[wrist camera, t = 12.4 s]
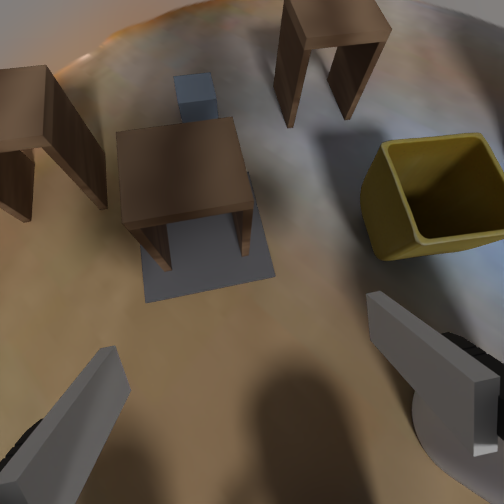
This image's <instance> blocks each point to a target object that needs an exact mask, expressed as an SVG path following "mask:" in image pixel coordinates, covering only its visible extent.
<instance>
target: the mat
mask: <svg viewBox="0 0 504 504" xmlns="http://www.w3.org/2000/svg"><path fill="white" fill-rule="evenodd" d="M247 175H248V179H249V183H250V187H251V191H252V194H253V198H254V207H253V217H252V228H251V238H250V249H249V256H244V257H242V256H241V251H240V247H239V242H238V238H237V233H236V229H235V224H234V220H233V215H232V212H231V213H225V214H220V215H214V216H208V217H203V218H197V219H191V220H185V221H180V222H174V223H168V224H166V225H167V233H168V241H169V248H170V256H171V264H172V271H167V272H164V270H163V269H162V268H161V267H160V266H159V265H158V264H157V262H156V261H155V260H154V259H153V258H152V257H151V256H150V254H149V253H148V252H147V251H146V250H145V249H144V248H143V246H142V245H141V244H140V248H141V259H142V271H143V282H144V293H145V303H150V302H155V301H160V300H165V299H170V298H175V297H180V296H184V295H189V294H194V293H199V292H204V291H209V290H214V289H218V288H223V287H228V286H233V285H238V284H243V283H248V282H252V281H257V280H262V279H267V278H272V277H275V272H274V268H273V264H272V260H271V257H270V253H269V249H268V245H267V241H266V237H265V234H264V230H263V226H262V222H261V218H260V214H259V210H258V207H257V203H256V199H255V195H254V191H253V187H252V184H251V180H250V176H249V172H247Z"/></svg>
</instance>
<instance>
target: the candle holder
mask: <svg viewBox="0 0 504 504" xmlns="http://www.w3.org/2000/svg"><path fill="white" fill-rule="evenodd" d="M503 364H504V363H503ZM412 418H413V424H414V428H415V431H416V434H417V437H418V439H419V441H420V443H421V445H422V447H423V449H424V450H425V452H426V453H427V455H428V456H429V457H430V458H431V460H432V461H433V462H434V463H435V464H436V465H437V466H438V467H439V468H440V469H441V470H443V471H444V472H445V473H446V474H448V475H449V476H450V477H452V478H453V479H455V480H456V481H458V482H459V483H460V484H462V485H463V486H465V487H466V488H468V489H469V490H471V491H472V492H474V493H475V494H477V495H478V496H480V497H481V498H483V499H484V500H486V501H487V502H489V503H490V504H504V441H503V440H502V439H501V438H500V437H499V436H498V448H497V452H493V453H488V454H484V455H479V456H475V457H473V455H472V454H471V453H470V452H469V451H468V450H467V449H466V448H465V446H464V445H463V444H462V443H461V442H460V441H459V440H458V439H457V437H456V436H455V435H454V434H453V433H452V432H451V431H450V430H449V428H448V427H447V426H446V425H445V424H444V423H443V422H442V420H441V419H440V418H439V417H438V416H437V415H436V414H435V413H434V411H433V410H432V409H431V408H430V407H429V406H428V405H427V404H426V402H425V401H424V400H423V399H422V398H421V397H420V396H419V395H418V393H417V392H416V391H415V393H414V396H413V401H412Z"/></svg>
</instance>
